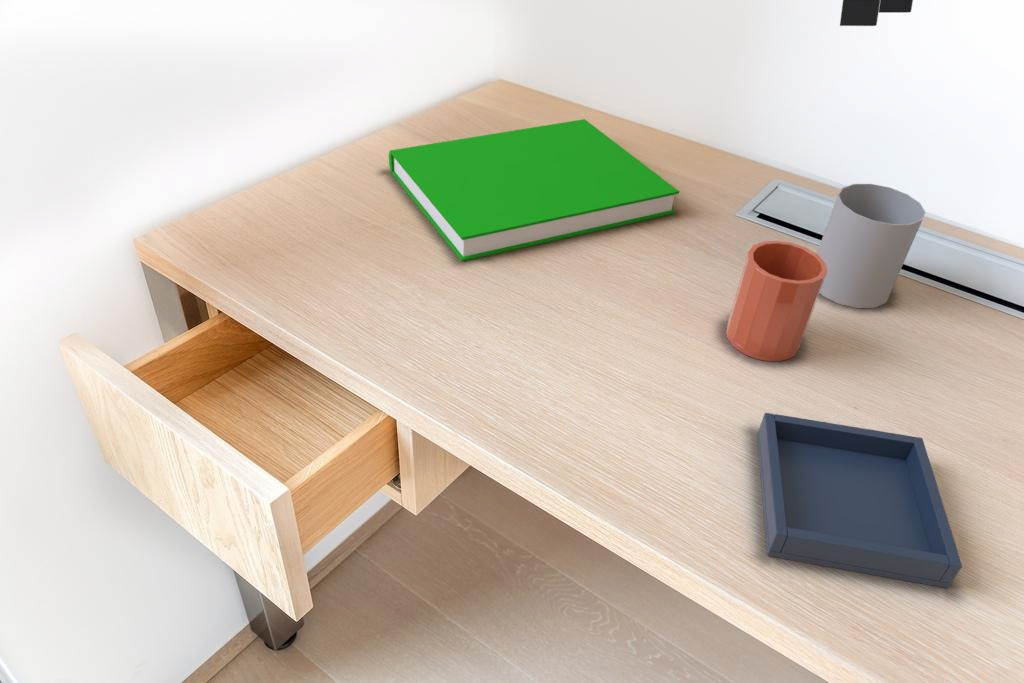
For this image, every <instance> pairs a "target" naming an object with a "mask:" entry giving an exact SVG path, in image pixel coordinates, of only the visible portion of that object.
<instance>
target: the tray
mask: <svg viewBox="0 0 1024 683" xmlns="http://www.w3.org/2000/svg"><path fill="white" fill-rule="evenodd" d="M756 435H757V446H758V447H757V448H758V459H759V460H758V461H759V472H760V473H759V474H760V483H761V484H760V485H761V496H762V508H763V520H764V532H765V544H766V554H767V557H774V558H778V559H784V560H789V561H795V562H800V563H807V564H811V565H817V566H823V567H828V568H834V569H839V570H844V571H845V570H846V571H851V572H856V573H861V574H867V575H873V576H878V577H883V578H889V579H894V580H901V581H906V582H910V583H911V582H912V583H917V584H921V585H928V586H932V587H933V586H934V587H938V588H944V589H948V588H949V586H950V585H951V583H953V581H954V579H955V578H956V576H958V574H959V572H961V569H962V568H963V563H962V560H961V558H960V554H959V551H958V548H957V545H956V541H955V538H954V535H953V531H952V529H951V526H950V522H949V519H948V516H947V512H946V510H945V507H944V503H943V500H942V496H941V494H940V493H941V492H940V491H939V487H938V483H937V480H936V477H935V474H934V471H933V468H932V464H931V461H930V458H929V455H928V452H927V448H926V446H925V442H924V439H923V438H922V437H918V436H912V435H907V434H901V433H900V434H899V433H894V432H887V431H882V430H876V429H869V428H864V427H857V426H852V425H851V426H850V425H845V424H839V423H833V422H827V421H820V420H815V419H808V418H803V417H802V418H801V417H795V416H789V415H784V414H778V413H770V412H764V415H763V417H762V420H761V423H760V425H759V428H758V430H757V433H756Z"/></svg>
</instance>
